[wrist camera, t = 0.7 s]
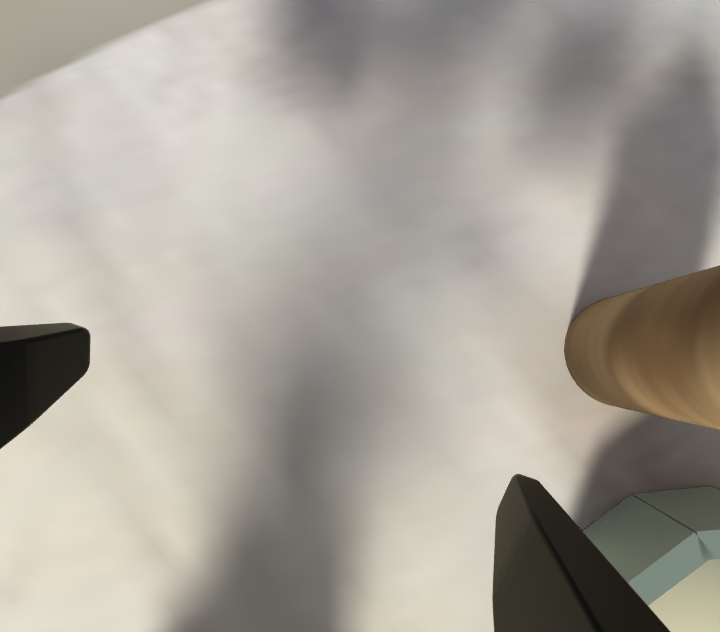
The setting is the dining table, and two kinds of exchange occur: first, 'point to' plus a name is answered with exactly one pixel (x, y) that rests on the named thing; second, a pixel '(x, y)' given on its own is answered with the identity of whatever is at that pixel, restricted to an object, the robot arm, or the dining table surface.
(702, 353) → the walnut bottle
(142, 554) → the dining table surface
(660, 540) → the bowl
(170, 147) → the dining table surface
